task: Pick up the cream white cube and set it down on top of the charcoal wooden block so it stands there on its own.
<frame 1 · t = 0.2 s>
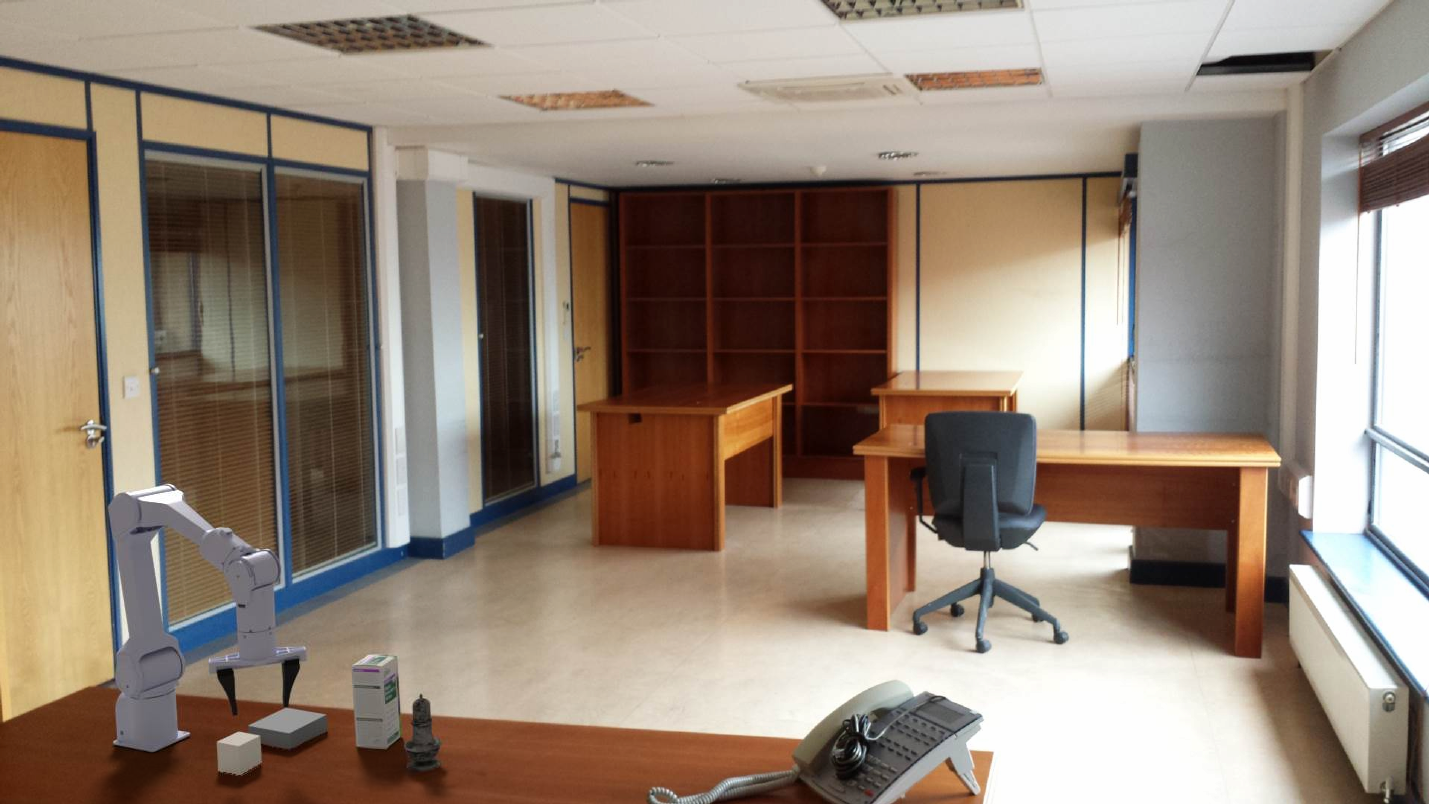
hand: (260, 709, 190), 10 cm above the table, tool pointing down, fingers open, 7 cm apart
block: (288, 736, 204), on the table
salt shaker: (423, 766, 192), on the table
syrup box: (378, 743, 201), on the table
cream white cube: (240, 768, 191), on the table
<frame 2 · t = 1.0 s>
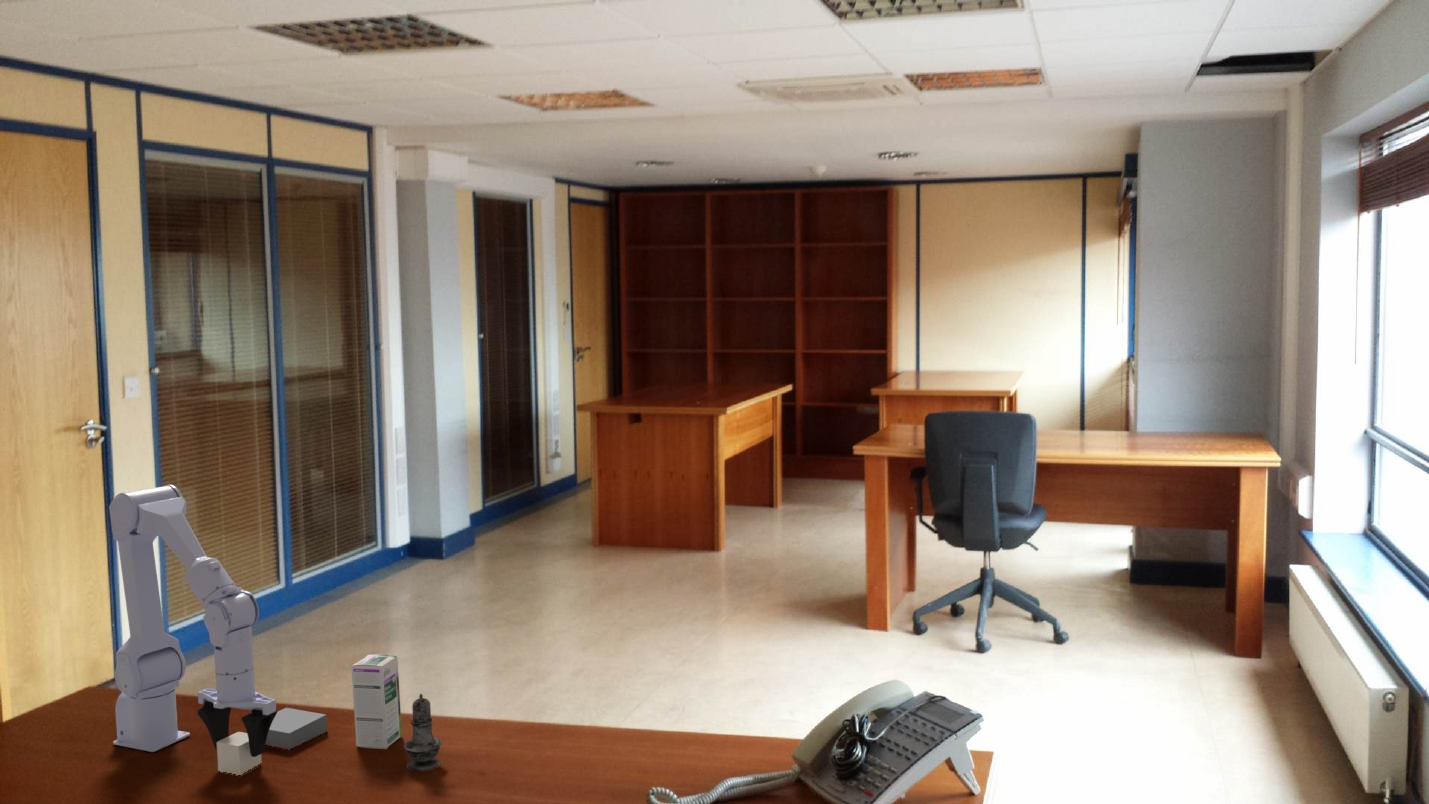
hand: (239, 751, 191), 3 cm above the table, tool pointing down, fingers open, 7 cm apart
nothing on the table moved.
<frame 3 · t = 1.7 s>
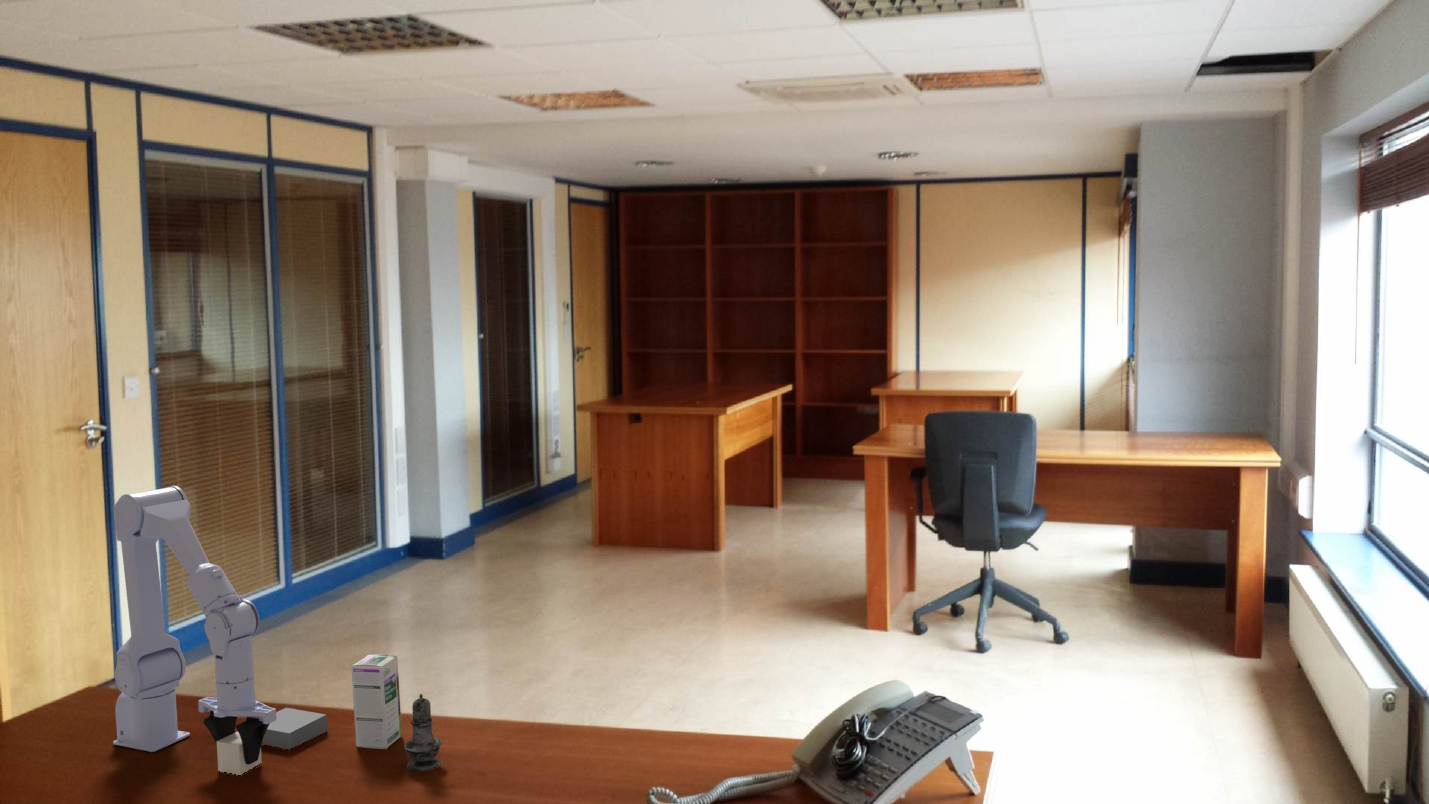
hand: (239, 759, 191), 1 cm above the table, tool pointing down, fingers closed on cream white cube, 5 cm apart
cream white cube: (240, 768, 191), on the table, touching gripper
everything else where it was.
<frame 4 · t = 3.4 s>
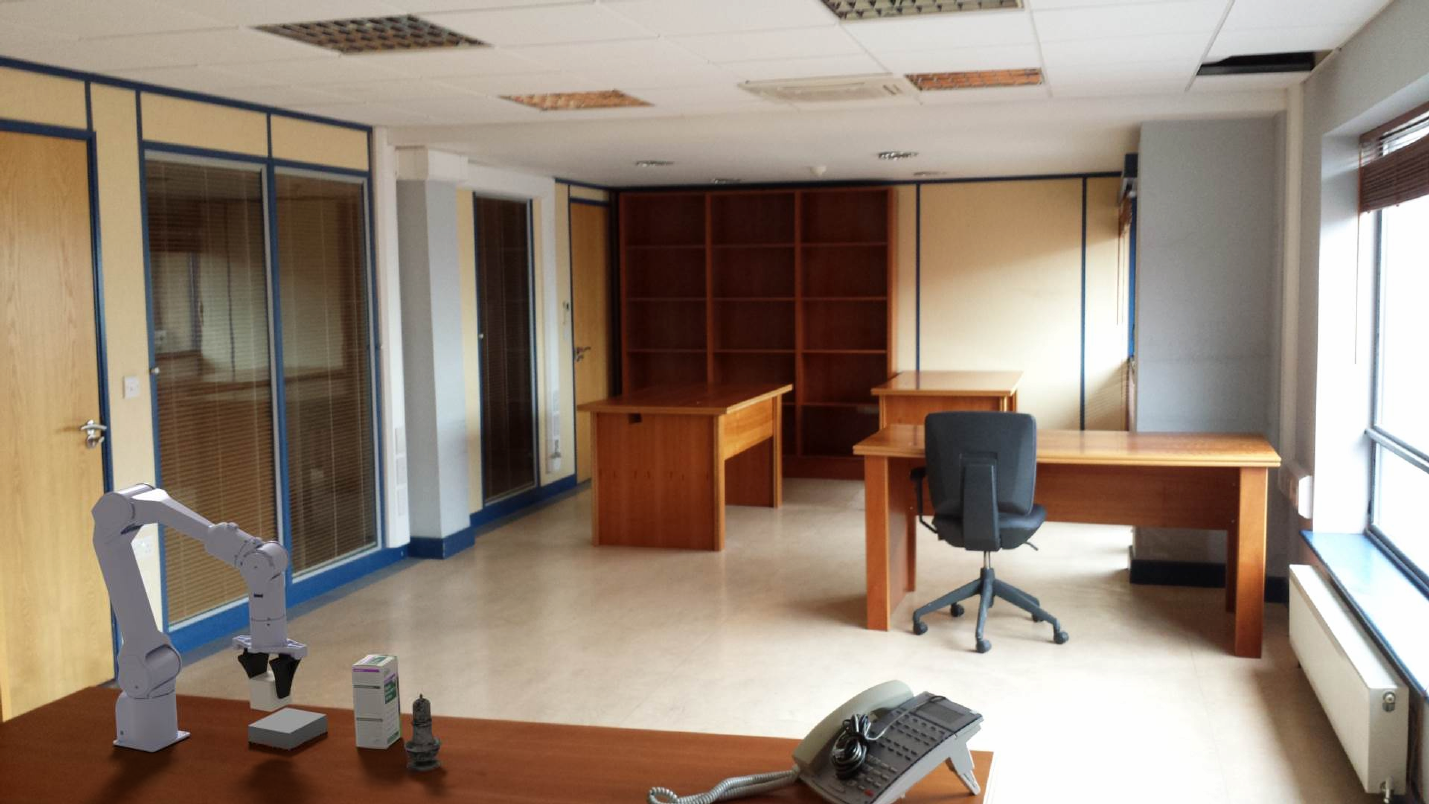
hand: (272, 694, 199), 9 cm above the table, tool pointing down, fingers closed on cream white cube, 5 cm apart
cream white cube: (271, 705, 199), point 7 cm above the table, touching gripper
everything else where it was.
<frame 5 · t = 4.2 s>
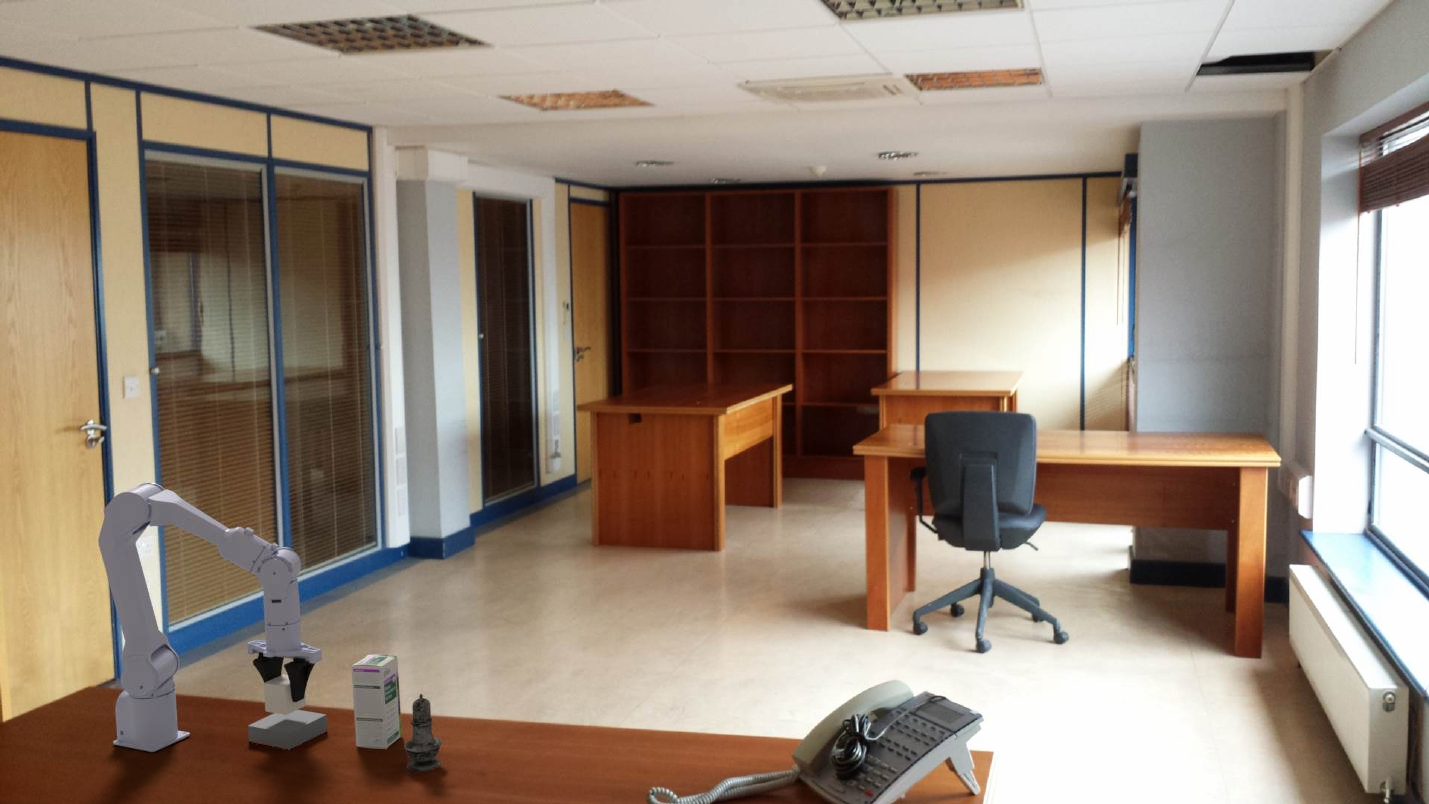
hand: (286, 698, 203), 7 cm above the table, tool pointing down, fingers closed on cream white cube, 5 cm apart
cream white cube: (285, 708, 203), point 5 cm above the table, touching gripper
everything else where it was.
when the fingers open (5 cm above the table, at t = 5.0 s): cream white cube stays where it is, resting on block.
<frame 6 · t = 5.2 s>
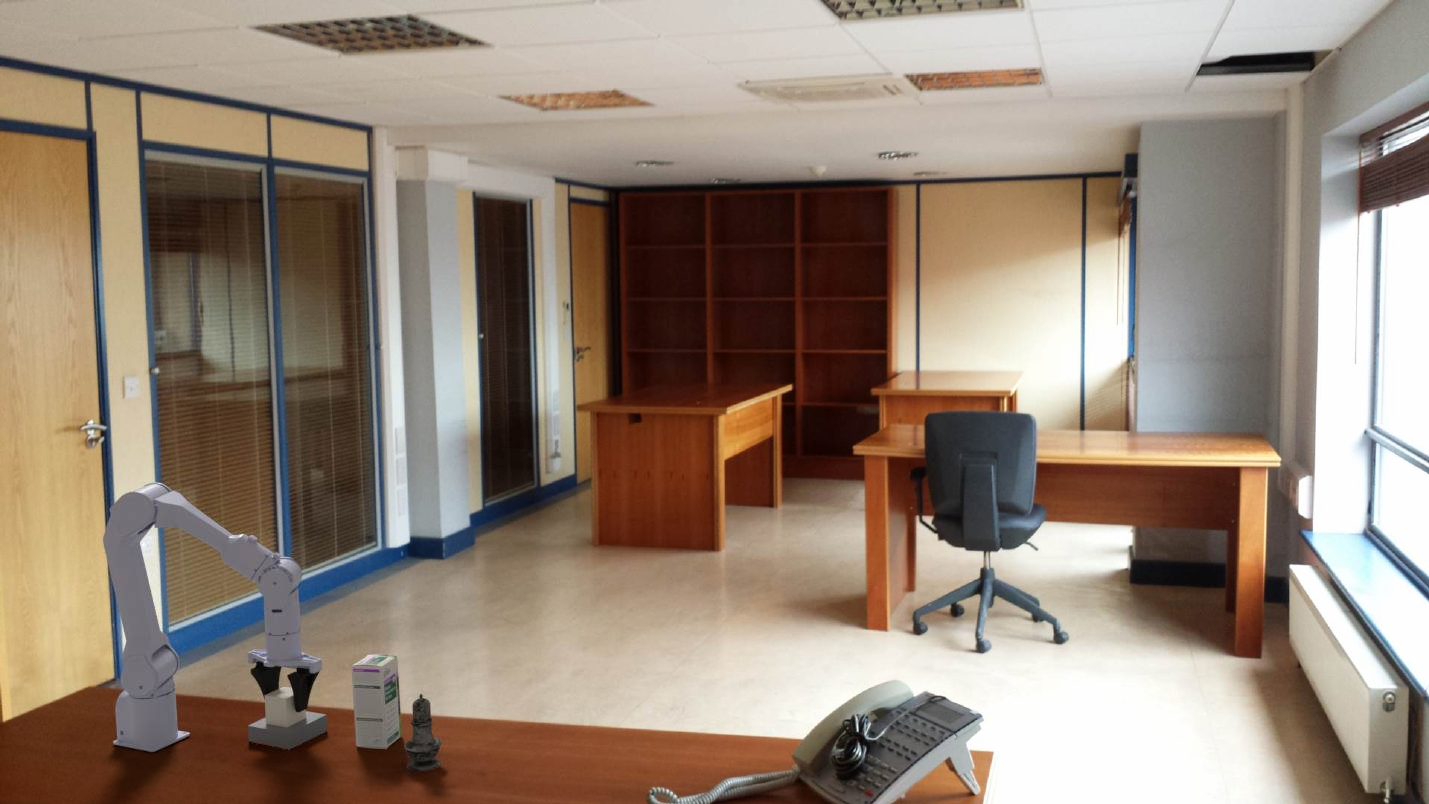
hand: (286, 707, 203), 5 cm above the table, tool pointing down, fingers open, 6 cm apart
cream white cube: (286, 720, 203), point 3 cm above the table, touching block
everything else where it was.
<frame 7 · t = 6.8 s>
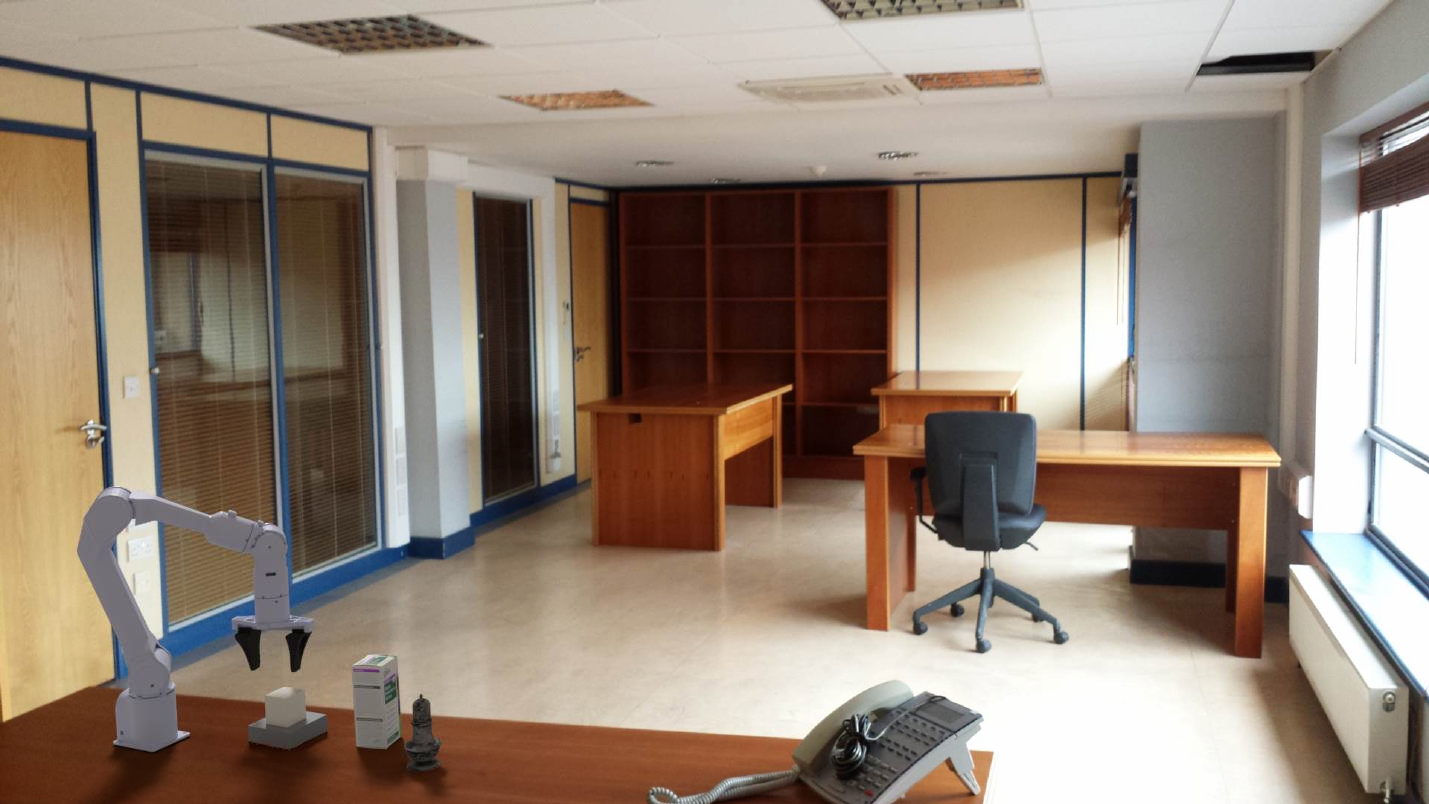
hand: (275, 669, 209), 10 cm above the table, tool pointing down, fingers open, 7 cm apart
nothing on the table moved.
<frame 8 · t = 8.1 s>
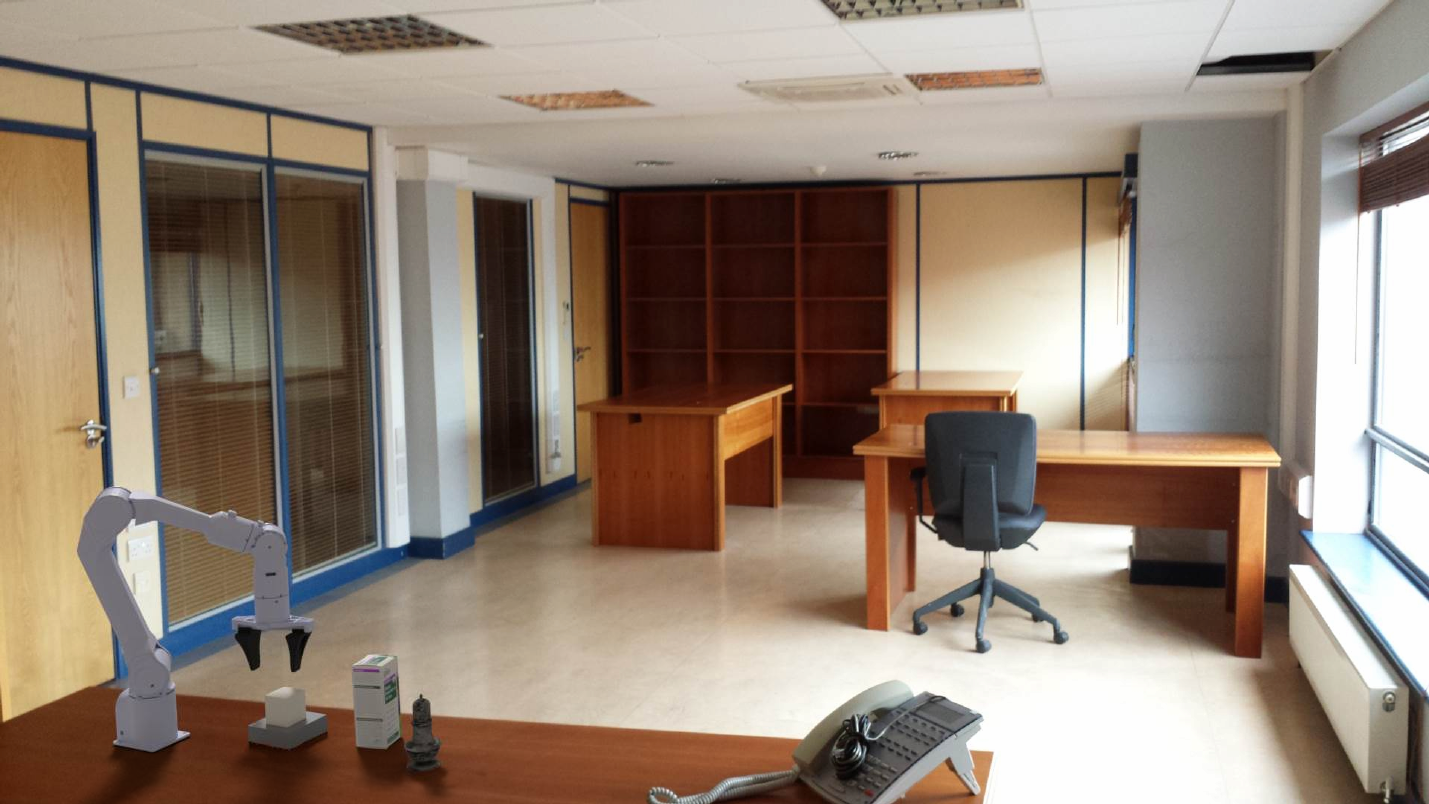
hand: (275, 669, 209), 10 cm above the table, tool pointing down, fingers open, 7 cm apart
nothing on the table moved.
at the end: cream white cube 0.3 cm off-centre on the block, point 3.0 cm above the block's base; cream white cube tilted 0°; the gripper is holding nothing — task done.
